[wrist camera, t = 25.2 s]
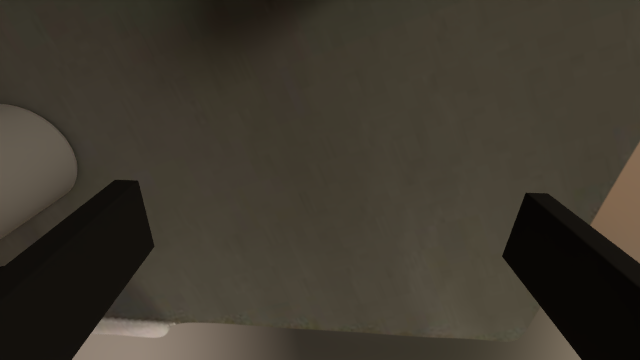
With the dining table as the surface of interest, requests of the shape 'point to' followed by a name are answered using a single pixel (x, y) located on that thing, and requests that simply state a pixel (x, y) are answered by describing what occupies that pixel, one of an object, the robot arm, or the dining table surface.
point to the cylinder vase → (31, 166)
